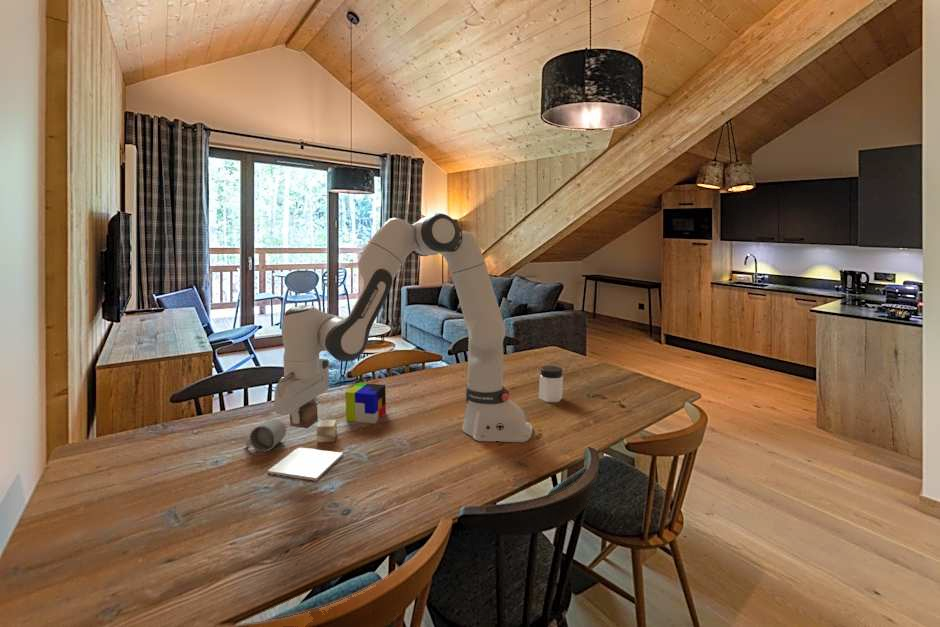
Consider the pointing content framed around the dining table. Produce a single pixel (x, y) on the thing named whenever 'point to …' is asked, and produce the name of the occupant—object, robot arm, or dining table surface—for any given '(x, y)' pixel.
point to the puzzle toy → (365, 402)
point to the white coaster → (306, 463)
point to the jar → (551, 384)
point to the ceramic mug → (267, 435)
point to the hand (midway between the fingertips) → (304, 417)
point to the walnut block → (306, 415)
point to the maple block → (326, 431)
